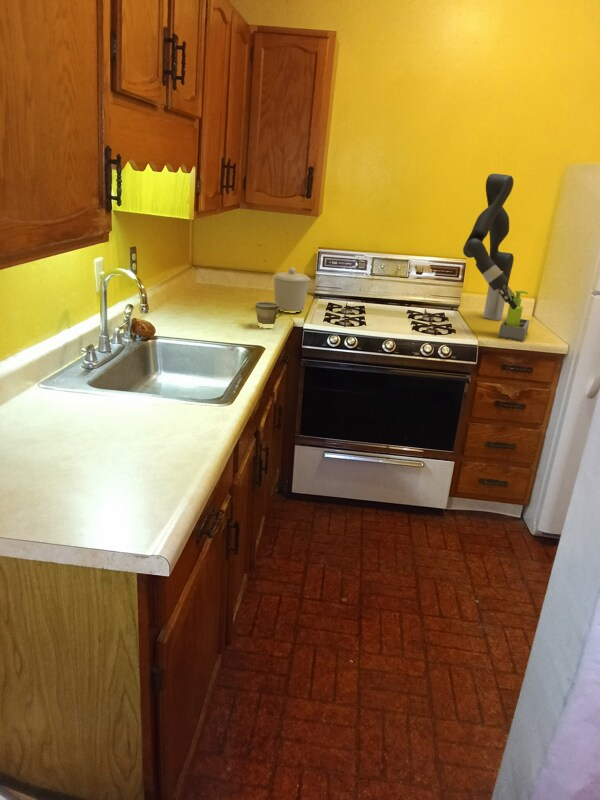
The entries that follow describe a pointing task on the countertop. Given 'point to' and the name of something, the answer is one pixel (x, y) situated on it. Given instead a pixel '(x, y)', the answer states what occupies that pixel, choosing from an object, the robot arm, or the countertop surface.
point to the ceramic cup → (267, 312)
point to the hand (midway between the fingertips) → (516, 306)
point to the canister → (291, 290)
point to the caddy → (514, 330)
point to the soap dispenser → (515, 311)
